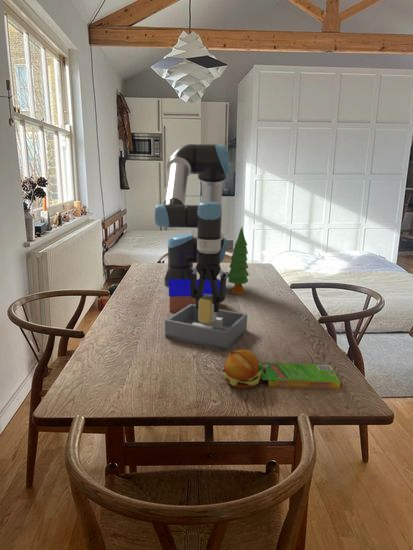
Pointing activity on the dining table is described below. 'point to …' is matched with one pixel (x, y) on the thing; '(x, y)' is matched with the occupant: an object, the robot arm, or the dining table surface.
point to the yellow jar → (205, 308)
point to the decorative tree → (239, 265)
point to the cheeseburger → (242, 369)
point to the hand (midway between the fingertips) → (207, 319)
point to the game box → (300, 375)
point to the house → (185, 293)
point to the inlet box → (206, 328)
